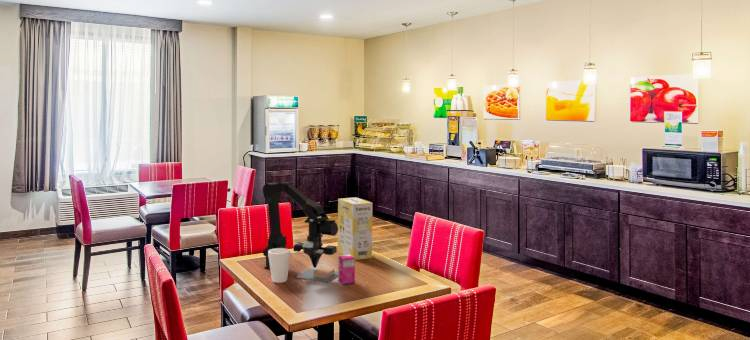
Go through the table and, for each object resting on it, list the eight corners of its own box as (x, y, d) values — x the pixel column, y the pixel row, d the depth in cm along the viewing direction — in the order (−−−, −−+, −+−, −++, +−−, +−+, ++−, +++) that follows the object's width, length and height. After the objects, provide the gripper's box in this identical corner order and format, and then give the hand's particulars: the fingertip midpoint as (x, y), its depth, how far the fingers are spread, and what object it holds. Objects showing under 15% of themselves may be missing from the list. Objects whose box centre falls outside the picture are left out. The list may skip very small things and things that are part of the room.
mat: (295, 278, 234) (295, 277, 234) (309, 269, 247) (309, 268, 247) (329, 282, 229) (329, 281, 229) (341, 273, 242) (341, 272, 242)
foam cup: (294, 278, 234) (294, 249, 232) (284, 284, 225) (283, 254, 224) (275, 276, 237) (275, 247, 235) (264, 282, 228) (263, 252, 227)
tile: (313, 271, 235) (327, 273, 232) (321, 266, 242) (334, 268, 240) (313, 277, 235) (327, 278, 233) (321, 272, 242) (334, 273, 240)
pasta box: (371, 257, 269) (372, 202, 266) (352, 260, 264) (353, 204, 261) (355, 249, 285) (356, 197, 282) (337, 251, 280) (338, 198, 277)
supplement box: (337, 281, 231) (337, 255, 230) (350, 279, 233) (350, 254, 232) (342, 285, 225) (342, 258, 224) (355, 283, 228) (355, 257, 227)
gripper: (287, 235, 232) (287, 270, 234) (327, 238, 226) (327, 274, 228) (299, 230, 243) (299, 263, 244) (337, 233, 237) (337, 267, 239)
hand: (315, 267), depth 239 cm, fingers closed
